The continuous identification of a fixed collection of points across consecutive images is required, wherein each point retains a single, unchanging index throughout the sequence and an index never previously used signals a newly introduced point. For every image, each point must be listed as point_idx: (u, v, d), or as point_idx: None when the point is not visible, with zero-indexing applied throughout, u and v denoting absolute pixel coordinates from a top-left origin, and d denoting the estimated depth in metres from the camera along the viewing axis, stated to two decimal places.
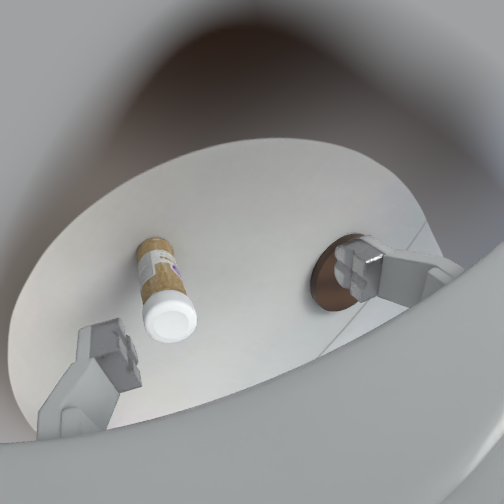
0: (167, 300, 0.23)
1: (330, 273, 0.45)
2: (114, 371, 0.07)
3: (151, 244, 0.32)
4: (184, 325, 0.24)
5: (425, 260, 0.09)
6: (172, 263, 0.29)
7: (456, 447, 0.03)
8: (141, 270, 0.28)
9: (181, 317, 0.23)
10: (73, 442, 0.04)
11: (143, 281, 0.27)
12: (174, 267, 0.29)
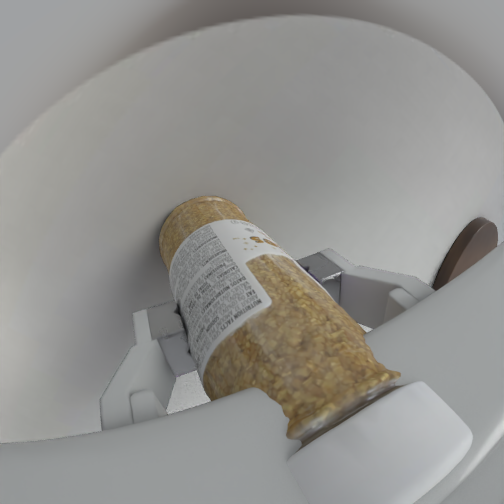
0: (441, 458, 0.03)
1: None
2: (175, 353, 0.08)
3: (204, 208, 0.12)
4: None
5: (389, 279, 0.08)
6: (292, 259, 0.09)
7: None
8: (189, 283, 0.09)
9: None
10: (73, 442, 0.04)
11: (213, 332, 0.07)
12: None
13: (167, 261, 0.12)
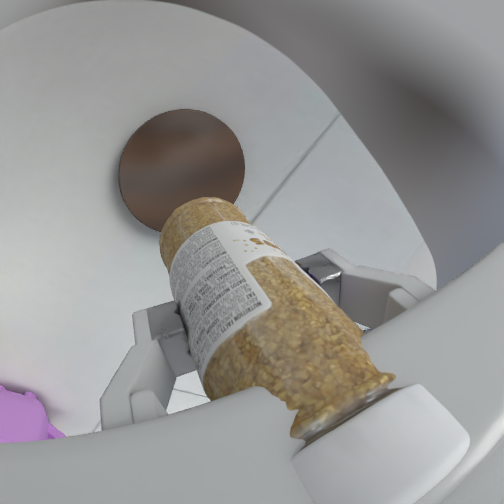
0: (440, 460, 0.03)
1: (140, 164, 0.28)
2: (175, 353, 0.08)
3: (204, 210, 0.12)
4: None
5: (389, 280, 0.08)
6: (292, 260, 0.09)
7: None
8: (189, 285, 0.09)
9: None
10: (73, 442, 0.04)
11: (213, 334, 0.07)
12: (306, 273, 0.09)
13: (167, 262, 0.12)
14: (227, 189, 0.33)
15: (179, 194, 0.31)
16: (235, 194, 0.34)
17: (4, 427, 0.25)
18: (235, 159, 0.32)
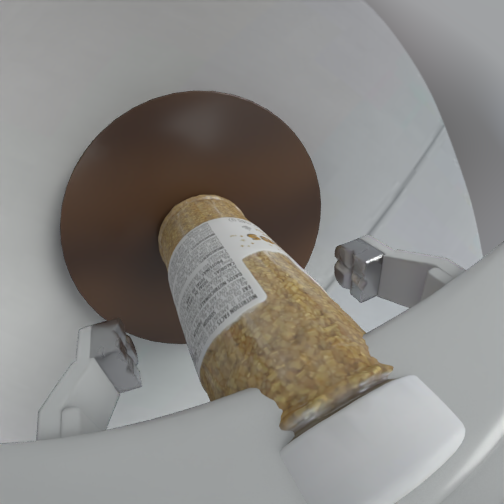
0: (432, 451, 0.03)
1: (105, 219, 0.12)
2: (114, 371, 0.07)
3: (203, 207, 0.12)
4: None
5: (425, 260, 0.09)
6: (289, 256, 0.09)
7: None
8: (187, 280, 0.09)
9: None
10: (73, 442, 0.04)
11: (209, 326, 0.07)
12: None
13: (166, 258, 0.12)
14: None
15: None
16: None
17: None
18: (305, 202, 0.16)
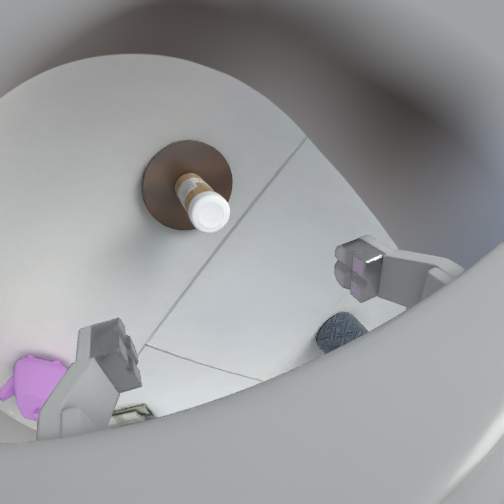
0: (210, 194, 0.32)
1: (158, 180, 0.41)
2: (114, 371, 0.07)
3: (188, 176, 0.41)
4: (220, 216, 0.33)
5: (425, 261, 0.09)
6: (207, 184, 0.38)
7: (456, 447, 0.03)
8: (183, 189, 0.38)
9: (219, 209, 0.33)
10: (73, 442, 0.04)
11: (186, 193, 0.36)
12: (209, 186, 0.38)
13: (177, 190, 0.41)
14: None
15: None
16: None
17: (36, 387, 0.38)
18: (225, 175, 0.45)
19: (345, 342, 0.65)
